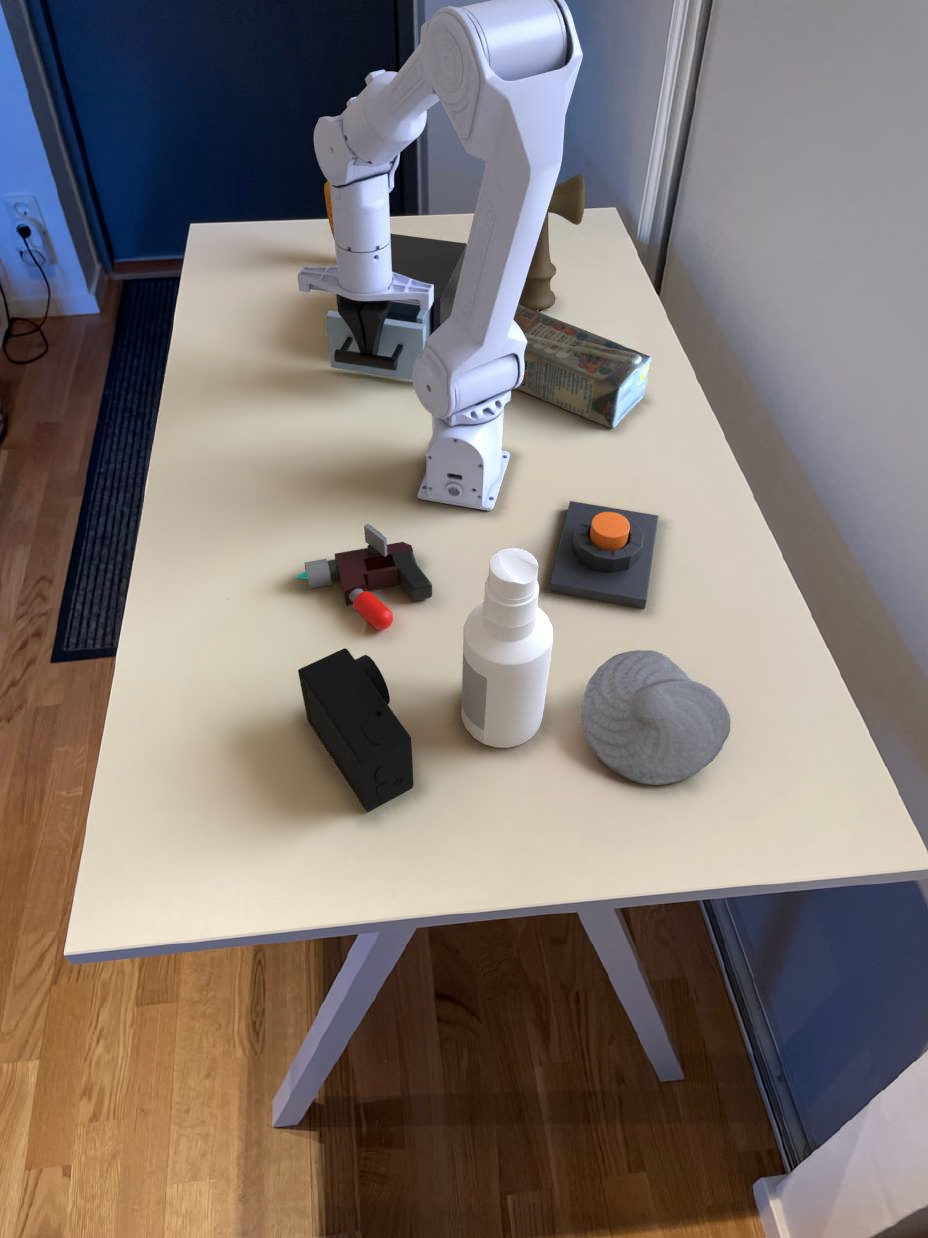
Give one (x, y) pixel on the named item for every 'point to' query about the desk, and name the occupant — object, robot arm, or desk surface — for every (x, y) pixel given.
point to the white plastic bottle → (506, 654)
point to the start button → (609, 531)
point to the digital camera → (358, 726)
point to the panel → (604, 558)
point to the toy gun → (371, 575)
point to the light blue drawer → (383, 342)
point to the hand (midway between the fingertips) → (370, 355)
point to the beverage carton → (580, 369)
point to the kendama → (537, 284)
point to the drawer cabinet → (429, 268)
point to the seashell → (652, 719)
